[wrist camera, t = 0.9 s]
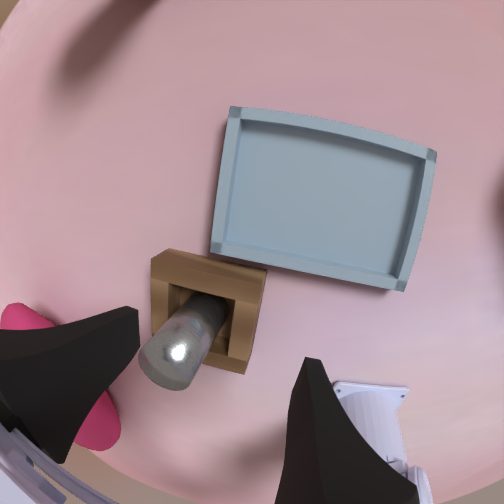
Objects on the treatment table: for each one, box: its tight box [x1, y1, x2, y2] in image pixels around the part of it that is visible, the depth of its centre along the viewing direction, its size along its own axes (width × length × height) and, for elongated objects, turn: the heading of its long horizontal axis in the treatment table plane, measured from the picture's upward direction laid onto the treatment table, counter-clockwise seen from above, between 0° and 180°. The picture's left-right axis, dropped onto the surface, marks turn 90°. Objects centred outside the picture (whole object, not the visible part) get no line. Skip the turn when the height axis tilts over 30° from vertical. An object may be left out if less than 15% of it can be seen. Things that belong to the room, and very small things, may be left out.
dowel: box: [138, 290, 229, 391], centre depth 17 cm, size 3×3×8 cm
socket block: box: [151, 249, 267, 375], centre depth 20 cm, size 8×8×3 cm
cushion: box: [0, 303, 121, 451], centre depth 25 cm, size 23×19×10 cm
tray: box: [210, 106, 437, 292], centre depth 17 cm, size 10×14×2 cm
